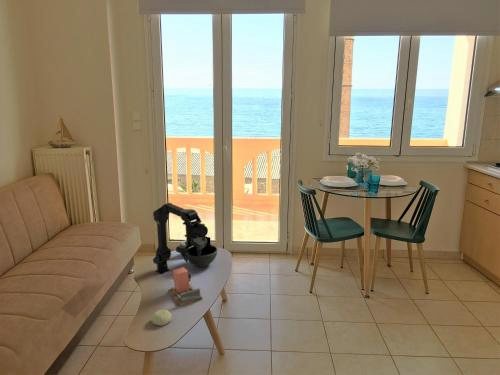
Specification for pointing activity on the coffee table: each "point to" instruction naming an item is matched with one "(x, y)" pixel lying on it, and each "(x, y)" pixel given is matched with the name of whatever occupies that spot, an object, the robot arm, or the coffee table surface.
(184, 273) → the salmon pink rectangular block
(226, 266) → the coffee table surface
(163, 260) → the robot arm
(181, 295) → the base
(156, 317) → the sea urchin shell
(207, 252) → the bowl of black rocks
